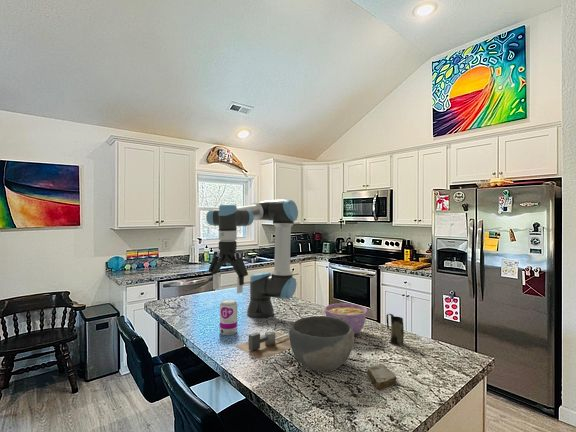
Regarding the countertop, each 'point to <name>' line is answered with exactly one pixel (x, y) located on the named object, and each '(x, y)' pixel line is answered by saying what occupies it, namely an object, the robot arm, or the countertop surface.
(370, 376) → the stone
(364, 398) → the countertop surface
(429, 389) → the countertop surface
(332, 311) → the bowl of food
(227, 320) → the supplement can
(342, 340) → the bowl
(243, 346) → the board
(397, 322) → the mug
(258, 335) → the peg key
